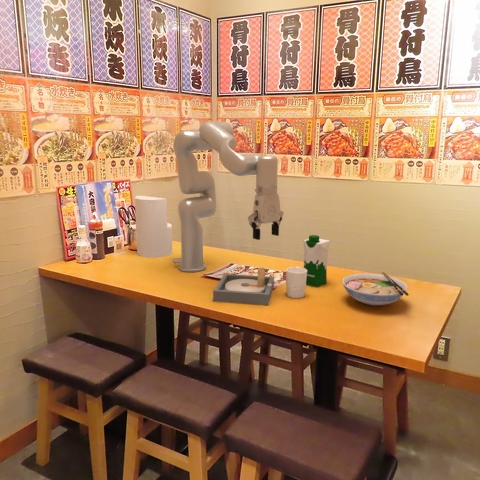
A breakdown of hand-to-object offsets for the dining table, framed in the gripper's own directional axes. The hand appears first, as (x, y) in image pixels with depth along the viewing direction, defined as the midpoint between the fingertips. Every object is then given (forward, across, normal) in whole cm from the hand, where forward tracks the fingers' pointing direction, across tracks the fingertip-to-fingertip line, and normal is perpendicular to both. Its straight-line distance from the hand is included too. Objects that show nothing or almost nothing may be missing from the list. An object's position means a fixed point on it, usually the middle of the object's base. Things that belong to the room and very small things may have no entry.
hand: (265, 237), depth 167 cm
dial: (+21, -5, +6) cm, 22 cm away
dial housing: (+22, -5, +6) cm, 23 cm away
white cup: (+23, +8, -8) cm, 25 cm away
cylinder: (+21, 0, +77) cm, 80 cm away
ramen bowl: (+23, +24, -31) cm, 46 cm away
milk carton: (+22, +24, -4) cm, 33 cm away
